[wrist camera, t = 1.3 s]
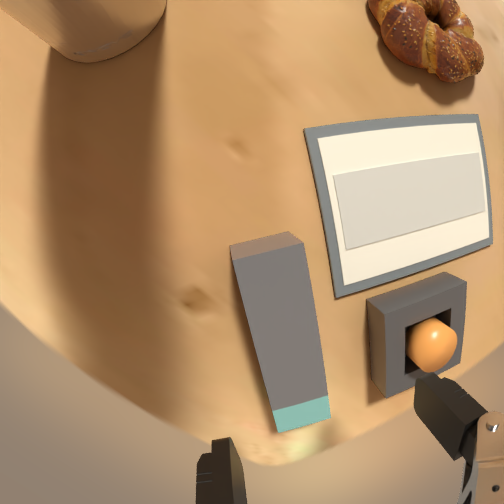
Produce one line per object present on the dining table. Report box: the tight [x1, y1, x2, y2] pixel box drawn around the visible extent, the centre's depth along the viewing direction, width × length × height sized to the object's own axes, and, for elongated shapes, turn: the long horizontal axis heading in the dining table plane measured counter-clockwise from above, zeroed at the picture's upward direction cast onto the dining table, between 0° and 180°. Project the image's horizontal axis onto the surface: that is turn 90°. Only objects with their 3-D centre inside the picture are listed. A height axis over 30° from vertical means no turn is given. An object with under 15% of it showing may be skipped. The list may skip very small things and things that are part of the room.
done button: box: [405, 316, 457, 373], centre depth 21 cm, size 4×4×2 cm
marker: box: [230, 232, 331, 433], centre depth 21 cm, size 13×4×4 cm, turn 13°
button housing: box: [366, 272, 467, 398], centre depth 23 cm, size 8×8×3 cm
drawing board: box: [303, 114, 493, 298], centre depth 21 cm, size 12×17×1 cm
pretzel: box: [368, 0, 484, 83], centre depth 17 cm, size 12×11×4 cm
